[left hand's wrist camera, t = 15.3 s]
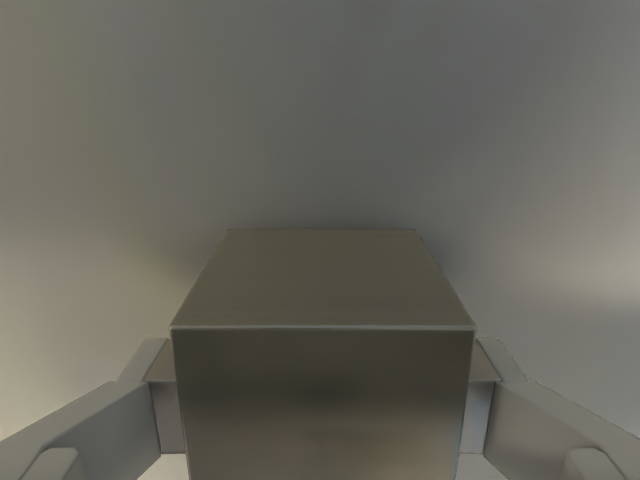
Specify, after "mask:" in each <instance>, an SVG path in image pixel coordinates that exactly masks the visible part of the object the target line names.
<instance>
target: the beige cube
mask: <svg viewBox="0 0 640 480" xmlns="http://www.w3.org/2000/svg"><path fill="white" fill-rule="evenodd" d="M476 330H477V328H476V325H475V323H474V322H473V320H472V319H471V317H470V315H469V314H468V312H467V311H466V309H465V308H464V306H463V304H462V303H461V301H460V300H459V298H458V296H457V295H456V293H455V292H454V290H453V288H452V287H451V285H450V284H449V282H448V280H447V279H446V277H445V276H444V274H443V272H442V271H441V269H440V268H439V266H438V264H437V263H436V261H435V260H434V258H433V256H432V255H431V253H430V252H429V250H428V248H427V247H426V245H425V244H424V242H423V240H422V239H421V237H420V236H419V234H418V232H417V231H416V230H414V229H229V230H228V231H227V232H226V234H225V235H224V237H223V239H222V240H221V242H220V244H219V245H218V247H217V249H216V250H215V252H214V253H213V255H212V257H211V258H210V260H209V262H208V263H207V265H206V267H205V268H204V270H203V271H202V273H201V275H200V276H199V278H198V280H197V281H196V283H195V285H194V286H193V288H192V289H191V291H190V293H189V294H188V296H187V298H186V299H185V301H184V303H183V304H182V306H181V307H180V309H179V311H178V312H177V314H176V316H175V317H174V319H173V321H172V322H171V324H170V326H169V334H170V341H171V349H172V356H173V363H174V371H175V378H176V385H177V393H178V400H179V407H180V415H181V422H182V429H183V437H184V444H185V451H186V459H187V466H188V473H189V480H455V478H456V471H457V464H458V457H459V450H460V443H461V436H462V429H463V422H464V415H465V408H466V401H467V394H468V386H469V379H470V372H471V365H472V358H473V351H474V344H475V337H476Z"/></svg>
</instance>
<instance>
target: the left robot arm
mask: <svg viewBox="0 0 640 480" xmlns="http://www.w3.org/2000/svg"><path fill="white" fill-rule="evenodd" d="M179 453H186V451H185V444H184V437H183V429H182V422H181V415H180V407H179V400H178V393H177V385H176V378H175V371H174V363H173V356H172V349H171V341H170V339H169V338H148V339H145V340H144V341H143V342H142V344H141V345H140V347H139V348H138V350H137V351H136V353H135V354H134V356H133V357H132V359H131V360H130V361H129V363H128V364H127V366H126V367H125V369H124V370H123V372H122V373H121V375H120V376H119V378H118V379H117V381H116V382H107V383H106V384H104V385H102V386H100V387H98V388H97V389H95V390H93V391H91V392H89V393H87V394H86V395H84V396H82V397H80V398H78V399H77V400H75V401H73V402H71V403H69V404H68V405H66V406H64V407H62V408H60V409H59V410H57V411H55V412H53V413H51V414H49V415H48V416H46V417H44V418H42V419H40V420H39V421H37V422H35V423H33V424H31V425H30V426H28V427H26V428H24V429H22V430H20V431H19V432H17V433H15V434H13V435H11V436H10V437H8V438H6V439H4V440H2V441H1V442H0V480H137V479H138V478H139V477H140V476H141V475H142V474H143V473H144V472H145V471H146V470H147V469H148V468H149V467H150V466H151V465H152V464H153V463H154V462H155V461H156V460H157V459H158V458H160V457H161V454H179ZM459 453H465V454H484V455H483V456H484V457H485V458H486V459H487V460H488V461H489V462H490V463H491V464H492V465H494V466H495V467H496V468H497V469H498V470H499V471H500V472H501V473H502V474H503V475H504V476H505V477H506V478H507V479H508V480H640V439H639V438H638V437H636V436H634V435H632V434H630V433H628V432H627V431H625V430H623V429H621V428H619V427H618V426H616V425H614V424H612V423H610V422H608V421H607V420H605V419H603V418H601V417H599V416H597V415H596V414H594V413H592V412H590V411H588V410H587V409H585V408H583V407H581V406H579V405H577V404H576V403H574V402H572V401H570V400H568V399H566V398H565V397H563V396H561V395H559V394H557V393H556V392H554V391H552V390H550V389H548V388H546V387H545V386H543V385H541V384H539V383H537V382H529V381H528V380H527V378H526V377H525V375H524V374H523V373H522V371H521V370H520V368H519V367H518V365H517V364H516V363H515V361H514V360H513V358H512V357H511V355H510V354H509V353H508V351H507V350H506V348H505V347H504V346H503V344H502V343H501V341H500V340H499V339H497V338H475V344H474V351H473V358H472V365H471V372H470V379H469V386H468V394H467V401H466V408H465V415H464V422H463V429H462V436H461V443H460V450H459Z"/></svg>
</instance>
